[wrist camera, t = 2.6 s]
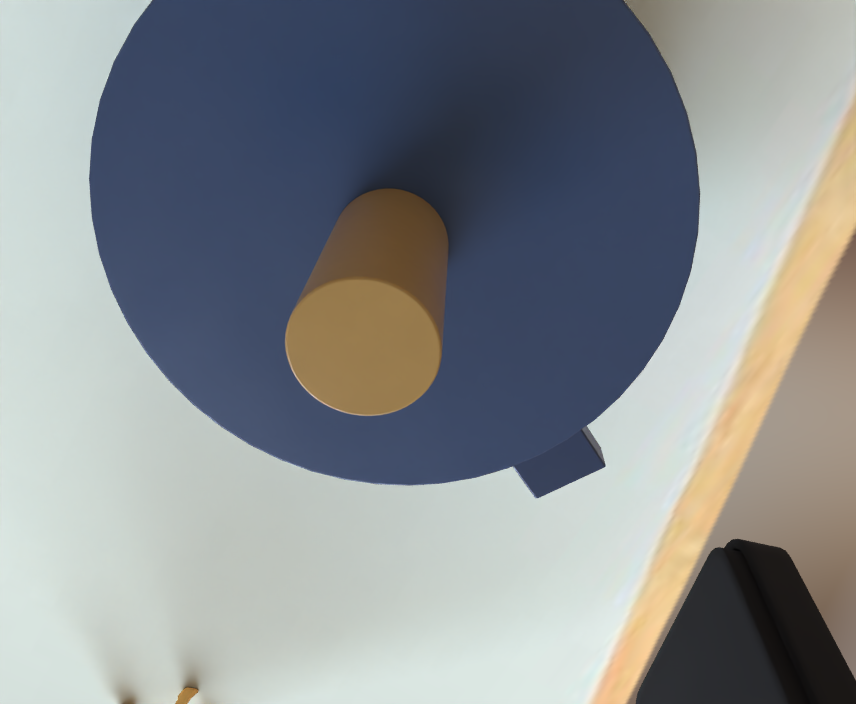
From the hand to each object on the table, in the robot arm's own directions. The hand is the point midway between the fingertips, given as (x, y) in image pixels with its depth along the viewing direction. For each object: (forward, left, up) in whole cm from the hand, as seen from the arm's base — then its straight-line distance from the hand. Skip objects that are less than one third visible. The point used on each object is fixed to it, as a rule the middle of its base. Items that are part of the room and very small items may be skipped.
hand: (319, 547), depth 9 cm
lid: (0, 0, -11) cm, 11 cm away
